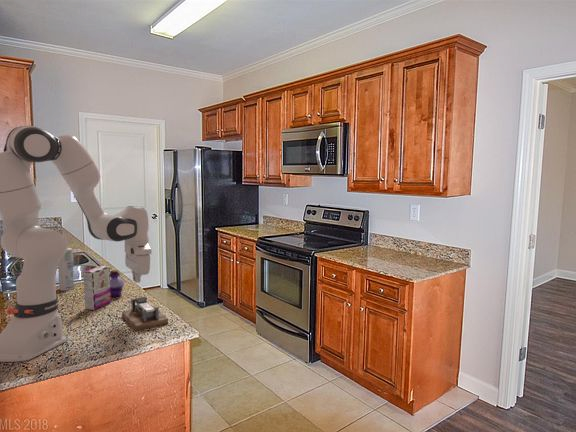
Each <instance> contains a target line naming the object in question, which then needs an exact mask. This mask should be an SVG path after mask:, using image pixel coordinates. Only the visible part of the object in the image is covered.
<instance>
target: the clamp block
mask: <svg viewBox="0 0 576 432" xmlns="http://www.w3.org/2000/svg"><path fill="white" fill-rule="evenodd" d="M142 297H143V298H144V299H145V300H146V301H147V299H148V298H147V297H146V296H142ZM147 302H148V301H147ZM153 307H154V311H151V312H147V313H146V310H145V309H142V308H141V307H140V306H139V305H138V304H136V302H135V298H131V299H130V308H131V309H130V310H131V311H132V312H135V313H137V314H138V315H139V316H140V317H141V318H142V322H144V323H145V322H146V320H150V319H155V320H159V312H160V311H159V306H153Z"/></svg>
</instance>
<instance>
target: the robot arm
mask: <svg viewBox="0 0 576 432" xmlns="http://www.w3.org/2000/svg"><path fill="white" fill-rule="evenodd" d="M43 162H44V163H45V162H51V163H53V164H54V165H55V166H56V168H57V169H58V172H59V173H60V175H61V176H62V178H63V179H64V181H65V182H66V184H67V186H68V187H69V188H70V190H71V192H72V194H73V196H74V198H75V200H76V202H77V204H78V206H79V208H80V210H81V211H82V213H83V215H84V216H85V219H86V221H87V223H86V224H87V229H88V232H89V235H90V236H92V237H93V238H94V239H96V240H103V241H110V242H117V243H118V242H123V241H124V253H125V256H124V257H125V259H124V260H125V261H124V264H125V267H127V268H128V269H130V270H131V274H132V281H133V282H135V283H137V284H139V283H141V277H142V276H145V275H149V274H150V269H151V255H152V251H153V250H152V248H151V246H150V244H149V236H148V232H149V216H148V211H147V210H146V208H144V207H139V206H134V205H128V206H126V207H125V208H124V209H123V210H122V211H120V212H118V213H116V214H114V215H113V214H108V213H107V212H105V211H104V210H103V209H102V207H101V204H100V203H99V200H98V199H97V197H96V195H95V191H94V190H95V188H96V187H97V186H98V184H99V182H100V179H101V174H100V171H99V169H98V167H97V165H96V163H95V161H94V159H93V158H92V156H91V154H89V151H88V150H87V149H86V147H85V146H83V143H81V142H80V140H79V139H78V138H77V137H76V136H74V135H71V134H70V135H69V134H64V135H63V134H62V135H59V136H54V135H53V134H52V133H50V132H48V131H47V130H45V129H43V128H39V127H38V126H33V125H21V126H16V127H15V128H13V129H12V130H11V131H10V132H9V133H8V134H7V137H6V141H5V144H4V148H3V152H2V151H1V152H0V215H1V221H2V235H1V238H0V247H1V248H2V250H3V251H4V252H5V253H7V254H9V256H10V255H11V256H12V257H14V258H18V259H21V260H22V259H23V266H22V269H21V273H20V275H19V276H17V278H16V281H15V285H16V287H15V288H16V303H15V307H14V308H13V307H9V308H8V307H7V309H6V314H7V315H12V316H13V317H12V318H11V320H9V322H8V324H7V325H6V326H5V327H4V328H3V330H2V331H1V333H0V363H2V362H5V363H7V362H8V363H11V362H12V363H16V362H17V363H18V362H23V361H24V362H25V361H29V360H31V359H34V358H36V357H38V356H40V355H42V354H44V353H45V352H48V351H49V350H52V349H54V348H56V347H58V346H60V345H62V344H64V343H66V342H67V340H68V339H67V337H66V336H65V334H64V329H63V328H64V327H63V323H62V317H61V315H60V313H59V311H58V309H59V299H58V296H57V286H56V284H57V283H56V282H57V281H56V279H57V278H56V277H57V276H56V275H57V271H58V264H59V261H60V259H61V258H62V257H63V256H64V255H65V253H66V252H67V249H68V248H69V244H68V243H69V242H68V240H67V238H66V236H65V235H63V234H62V233H60V232H59V231H57V230H54V229H52V228H45V227H41V225H40V223H39V222H40V221H39V212H40V210H41V209H42V204H41V203H42V202H41V200H40V198H39V194H38V191H37V189H36V186H35V183H34V180H33V177H32V175H31V165H32V163H43Z"/></svg>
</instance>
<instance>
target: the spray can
mask: <svg viewBox="0 0 576 432" xmlns="http://www.w3.org/2000/svg"><path fill="white" fill-rule="evenodd" d="M73 252H74V251H73V248H72V247H68V249H67V252H66V253H65V255H64V256H63V257H62V258H61V259H60V261H59V264H58V267H57V271H58V283H59V284H58V285H59V291H61V292H62V291H63V292H64V291H72V290H73V289H75V281H74V279H75V277H74V258H73V257H74V255H73V254H74V253H73Z"/></svg>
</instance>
